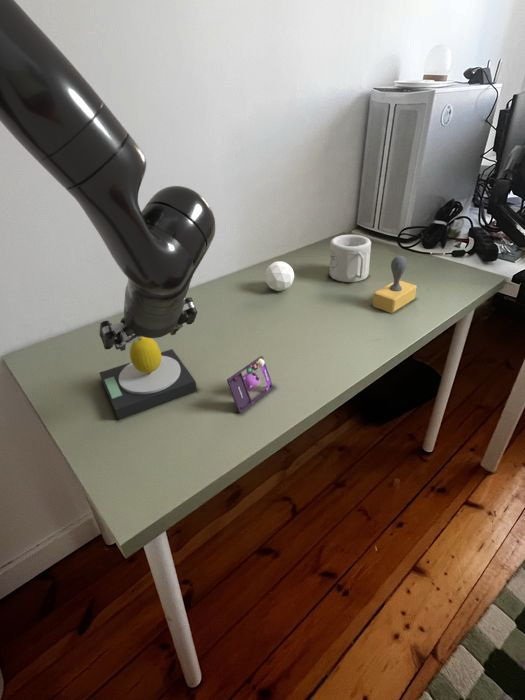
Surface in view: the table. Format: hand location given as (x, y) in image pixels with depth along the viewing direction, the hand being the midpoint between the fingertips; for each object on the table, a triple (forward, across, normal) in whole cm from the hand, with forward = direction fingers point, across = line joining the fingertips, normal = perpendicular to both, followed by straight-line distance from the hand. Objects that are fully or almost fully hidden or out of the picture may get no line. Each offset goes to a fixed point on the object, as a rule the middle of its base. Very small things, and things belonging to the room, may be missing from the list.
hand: (146, 337), depth 72 cm
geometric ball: (+30, -42, -10) cm, 53 cm away
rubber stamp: (+13, -61, +7) cm, 63 cm away
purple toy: (+5, -14, +15) cm, 22 cm away
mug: (+26, -62, -6) cm, 68 cm away
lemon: (+12, 0, +4) cm, 13 cm away
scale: (+14, +1, +6) cm, 15 cm away
